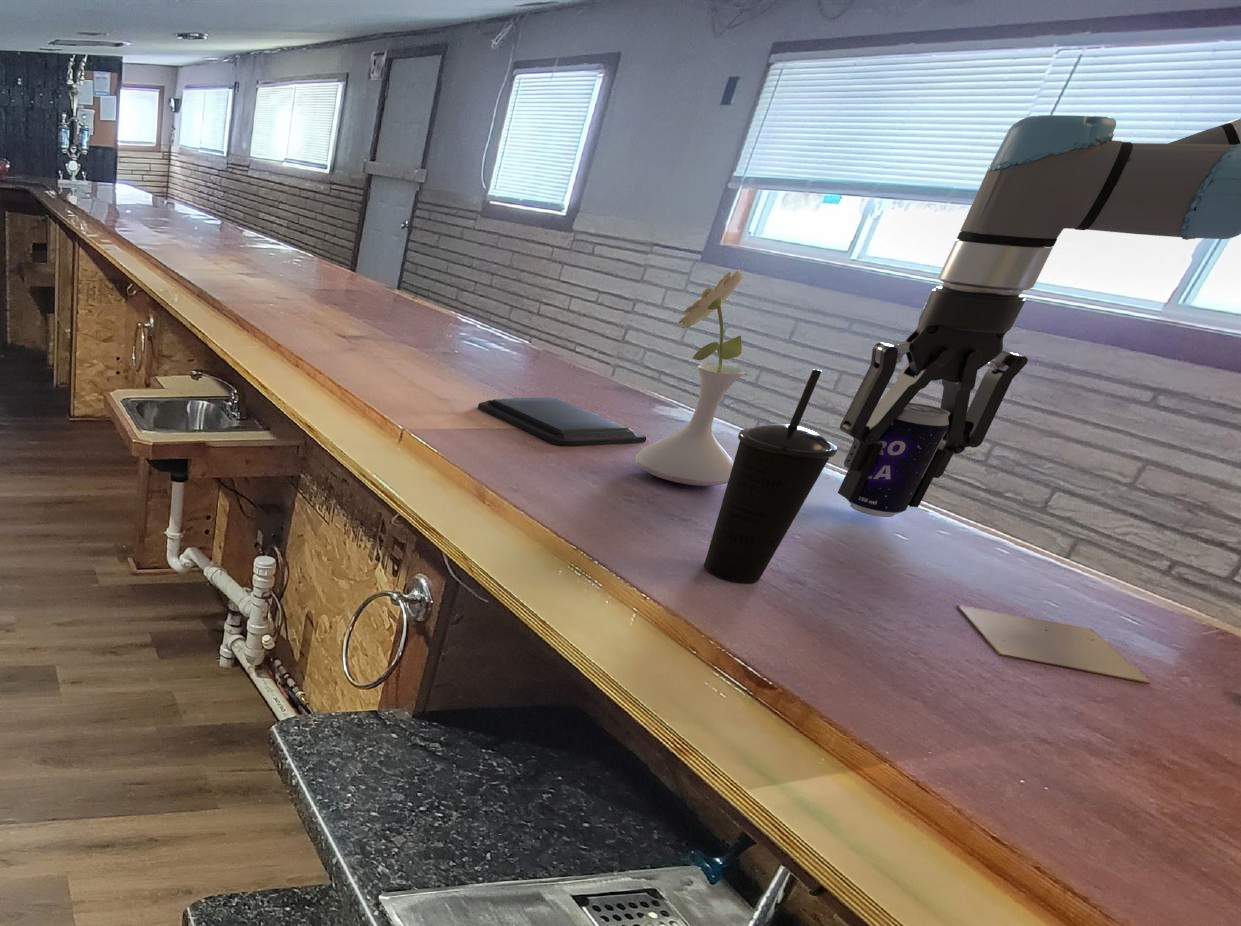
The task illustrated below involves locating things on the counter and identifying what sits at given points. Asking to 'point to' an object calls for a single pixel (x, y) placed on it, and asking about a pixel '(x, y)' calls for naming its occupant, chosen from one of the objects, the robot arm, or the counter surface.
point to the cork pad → (1051, 643)
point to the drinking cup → (765, 493)
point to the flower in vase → (700, 406)
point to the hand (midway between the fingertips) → (877, 499)
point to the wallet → (560, 421)
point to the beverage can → (902, 460)
